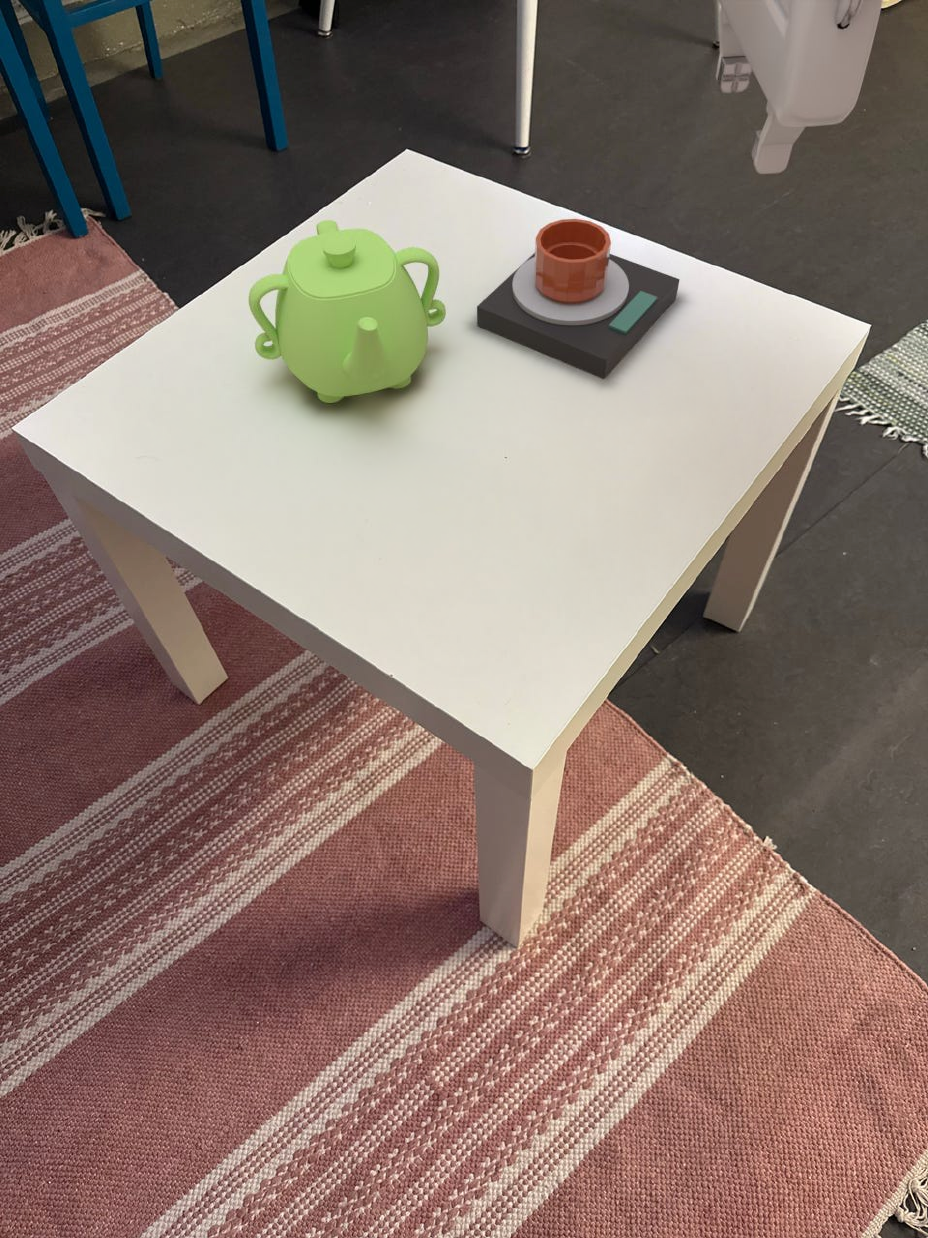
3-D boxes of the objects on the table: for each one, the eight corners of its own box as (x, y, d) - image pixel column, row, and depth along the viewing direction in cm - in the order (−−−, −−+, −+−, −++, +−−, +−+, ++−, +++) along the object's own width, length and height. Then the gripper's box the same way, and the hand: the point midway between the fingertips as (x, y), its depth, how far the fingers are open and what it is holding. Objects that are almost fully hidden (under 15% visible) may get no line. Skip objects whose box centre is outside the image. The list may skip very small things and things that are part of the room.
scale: (676, 298, 89) (680, 273, 87) (604, 379, 83) (607, 354, 81) (553, 252, 94) (555, 227, 92) (476, 325, 88) (476, 300, 86)
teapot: (478, 357, 85) (477, 232, 75) (385, 447, 79) (370, 325, 69) (344, 298, 91) (325, 175, 81) (247, 378, 84) (213, 255, 74)
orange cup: (600, 260, 89) (604, 216, 85) (610, 304, 85) (615, 259, 81) (531, 264, 89) (532, 220, 85) (538, 308, 85) (540, 263, 81)
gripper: (955, -87, 38) (849, 220, 50) (820, -229, 50) (759, 45, 61) (805, -79, 38) (734, 226, 50) (705, -223, 50) (666, 50, 61)
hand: (747, 125), depth 56 cm, fingers open, 8 cm apart
